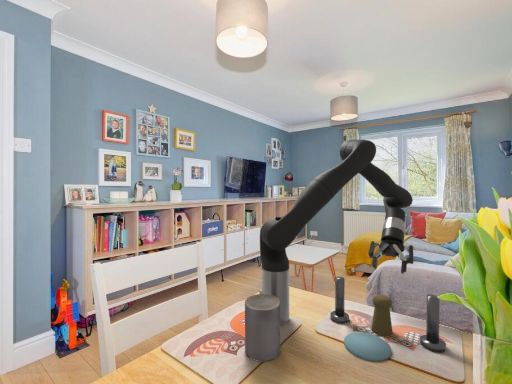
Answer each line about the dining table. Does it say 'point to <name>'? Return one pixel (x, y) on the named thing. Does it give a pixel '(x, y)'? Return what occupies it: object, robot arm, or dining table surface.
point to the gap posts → (432, 319)
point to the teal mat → (367, 346)
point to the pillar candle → (262, 327)
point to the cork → (382, 316)
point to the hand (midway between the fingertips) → (388, 270)
